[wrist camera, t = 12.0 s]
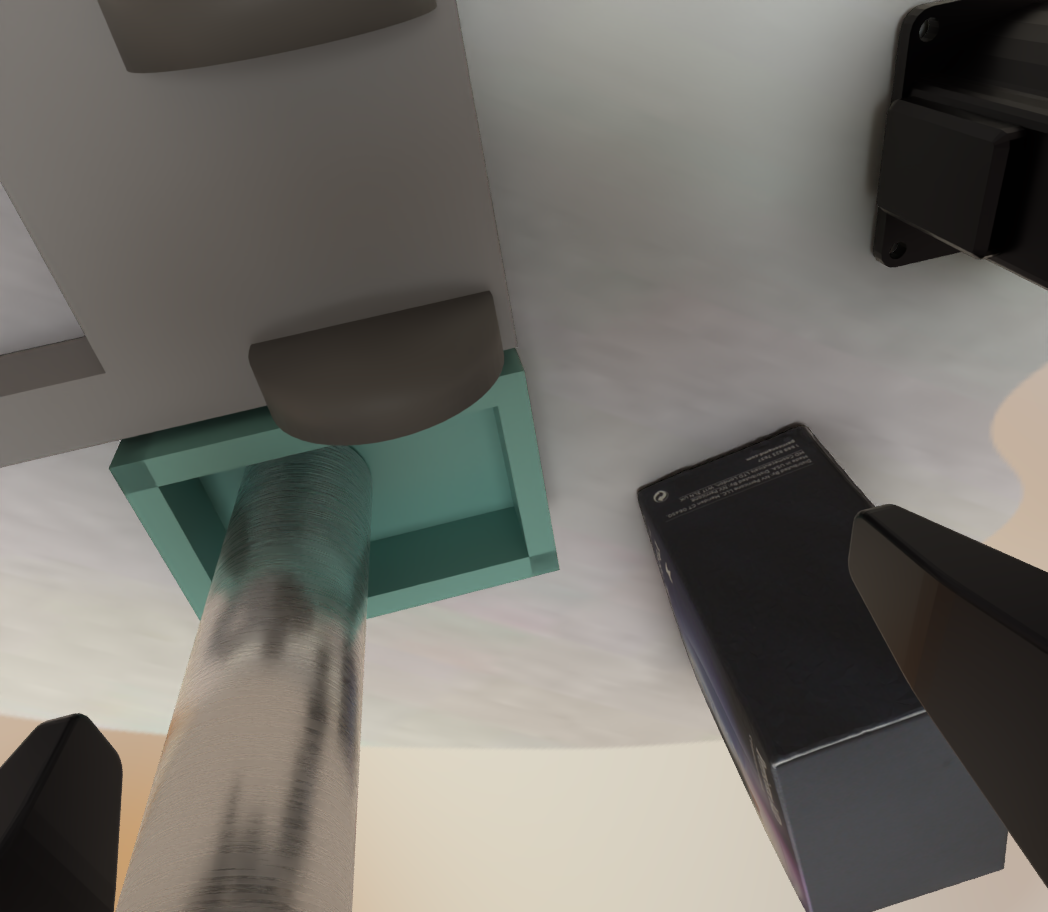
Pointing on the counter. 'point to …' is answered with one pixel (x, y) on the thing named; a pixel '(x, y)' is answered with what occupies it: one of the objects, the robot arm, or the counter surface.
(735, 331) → the counter surface
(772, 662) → the small box
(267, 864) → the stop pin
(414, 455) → the tray
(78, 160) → the socket plate with bumps
